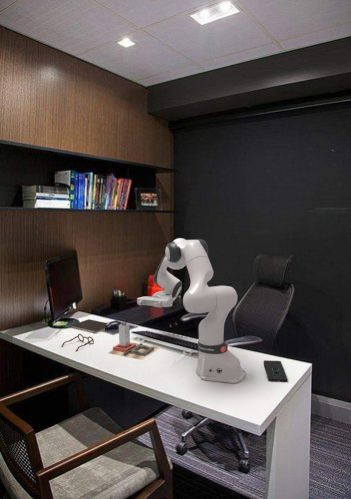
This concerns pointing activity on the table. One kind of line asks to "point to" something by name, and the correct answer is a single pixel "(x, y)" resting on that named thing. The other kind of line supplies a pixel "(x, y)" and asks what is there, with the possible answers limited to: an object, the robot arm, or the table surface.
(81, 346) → the glasses
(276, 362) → the smart home device
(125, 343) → the lock bolt
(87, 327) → the hardcover book
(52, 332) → the table surface
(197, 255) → the robot arm
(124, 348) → the socket
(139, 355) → the flat brown board
